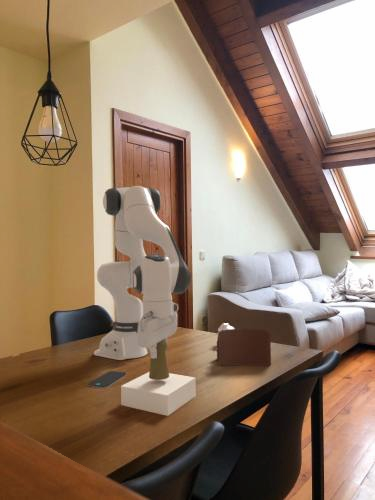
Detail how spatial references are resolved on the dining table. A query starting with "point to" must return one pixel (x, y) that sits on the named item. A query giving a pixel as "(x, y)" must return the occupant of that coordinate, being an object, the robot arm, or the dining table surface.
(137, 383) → the white block
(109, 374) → the smartphone
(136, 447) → the dining table surface
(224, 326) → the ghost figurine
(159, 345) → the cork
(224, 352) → the letter holder
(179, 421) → the dining table surface
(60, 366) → the dining table surface
